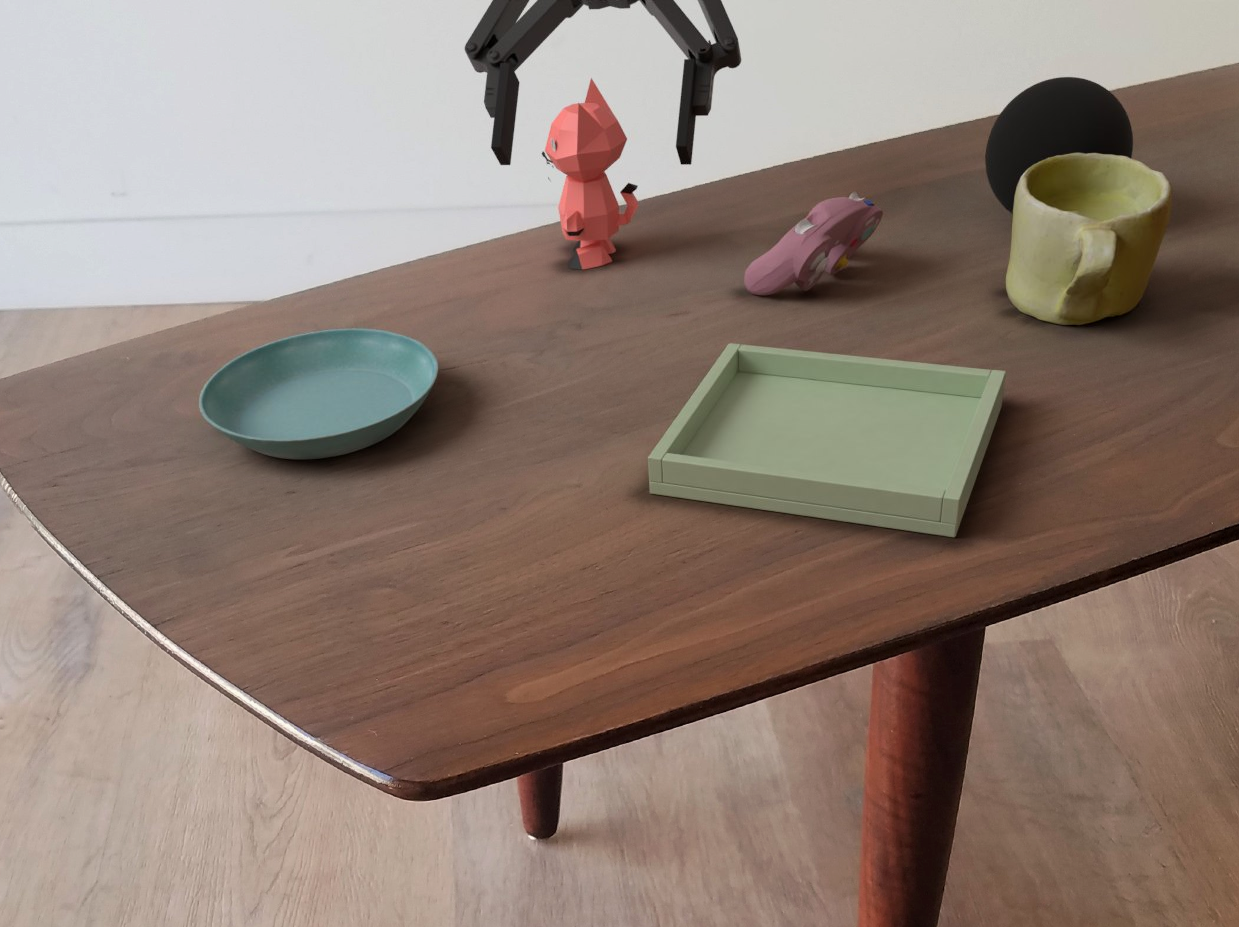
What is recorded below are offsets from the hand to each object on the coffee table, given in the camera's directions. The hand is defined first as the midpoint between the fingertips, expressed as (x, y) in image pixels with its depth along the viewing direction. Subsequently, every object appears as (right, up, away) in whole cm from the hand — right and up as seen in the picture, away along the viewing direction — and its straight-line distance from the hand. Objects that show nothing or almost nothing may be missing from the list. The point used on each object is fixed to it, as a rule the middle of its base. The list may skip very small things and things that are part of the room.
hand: (590, 156), depth 100 cm
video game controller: (+16, -10, -3) cm, 19 cm away
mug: (+31, -14, -10) cm, 36 cm away
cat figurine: (+1, -6, +4) cm, 7 cm away
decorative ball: (+34, -4, +2) cm, 34 cm away
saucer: (-17, -22, -13) cm, 30 cm away
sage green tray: (+13, -25, -22) cm, 35 cm away
